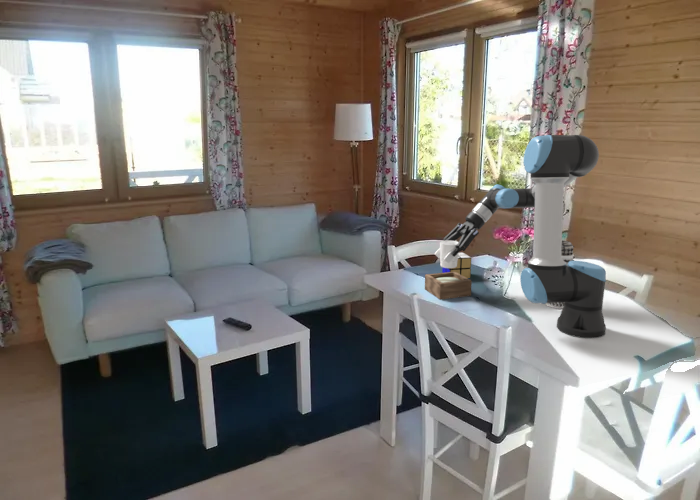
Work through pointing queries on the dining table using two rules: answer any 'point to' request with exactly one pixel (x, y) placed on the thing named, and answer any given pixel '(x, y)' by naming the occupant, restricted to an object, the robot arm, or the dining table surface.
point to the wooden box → (448, 285)
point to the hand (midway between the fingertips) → (441, 258)
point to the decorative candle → (566, 256)
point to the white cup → (444, 250)
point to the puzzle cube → (461, 266)
